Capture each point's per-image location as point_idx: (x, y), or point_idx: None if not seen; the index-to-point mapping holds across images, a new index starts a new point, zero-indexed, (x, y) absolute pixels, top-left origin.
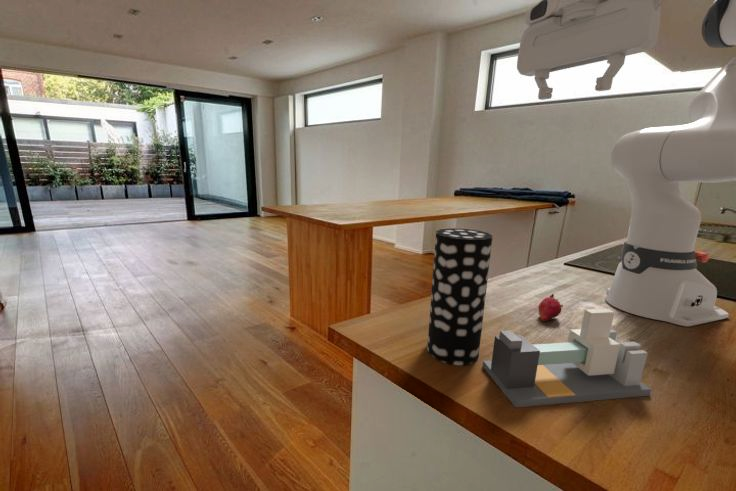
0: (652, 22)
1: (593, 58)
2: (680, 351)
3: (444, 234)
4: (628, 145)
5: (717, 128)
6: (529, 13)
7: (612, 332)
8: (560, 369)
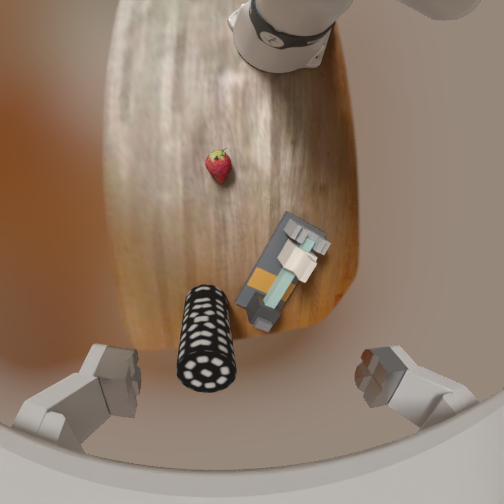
0: None
1: (386, 469)
2: (326, 132)
3: (200, 388)
4: None
5: None
6: None
7: (306, 235)
8: (277, 264)
